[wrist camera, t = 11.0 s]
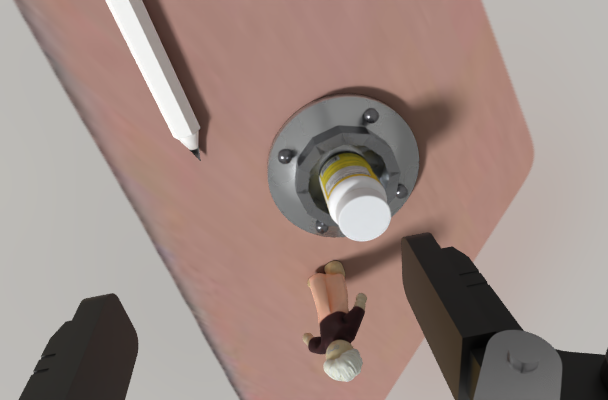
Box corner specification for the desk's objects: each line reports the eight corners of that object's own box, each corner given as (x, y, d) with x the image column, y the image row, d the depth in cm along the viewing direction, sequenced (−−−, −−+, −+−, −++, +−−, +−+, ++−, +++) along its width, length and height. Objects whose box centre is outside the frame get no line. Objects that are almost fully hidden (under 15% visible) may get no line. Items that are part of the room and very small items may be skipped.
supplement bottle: (366, 194, 39) (392, 245, 32) (317, 197, 39) (332, 248, 31) (370, 147, 37) (399, 189, 30) (318, 149, 36) (334, 192, 29)
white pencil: (201, 154, 38) (108, -37, 30) (218, 152, 37) (127, -46, 29) (184, 169, 36) (80, -30, 28) (202, 167, 35) (100, -40, 27)
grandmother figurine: (331, 247, 43) (358, 341, 32) (359, 263, 45) (393, 359, 33) (288, 295, 46) (298, 398, 35) (315, 309, 47) (333, 412, 36)
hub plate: (239, 136, 36) (238, 150, 34) (387, 65, 35) (398, 72, 32) (305, 251, 43) (309, 270, 40) (432, 195, 41) (444, 211, 39)
